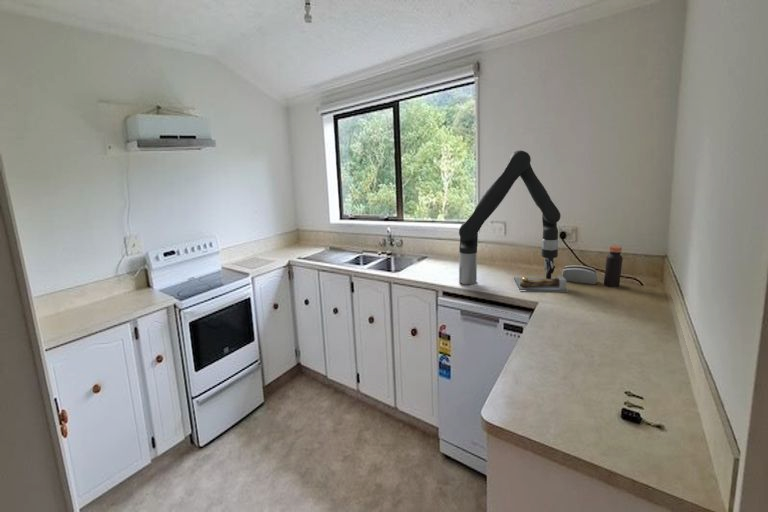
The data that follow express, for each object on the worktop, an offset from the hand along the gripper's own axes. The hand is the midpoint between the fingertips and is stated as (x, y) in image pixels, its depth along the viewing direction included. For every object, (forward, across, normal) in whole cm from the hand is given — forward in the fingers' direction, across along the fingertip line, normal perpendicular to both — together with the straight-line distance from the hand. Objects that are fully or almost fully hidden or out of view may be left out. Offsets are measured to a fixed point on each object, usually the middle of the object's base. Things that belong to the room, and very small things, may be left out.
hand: (548, 279), depth 190 cm
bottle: (+4, -1, +30) cm, 31 cm away
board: (+3, +1, -5) cm, 5 cm away
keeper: (+2, +6, +4) cm, 8 cm away
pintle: (-2, +6, -13) cm, 14 cm away
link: (+1, +4, -5) cm, 6 cm away
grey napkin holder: (+4, -6, +17) cm, 18 cm away
